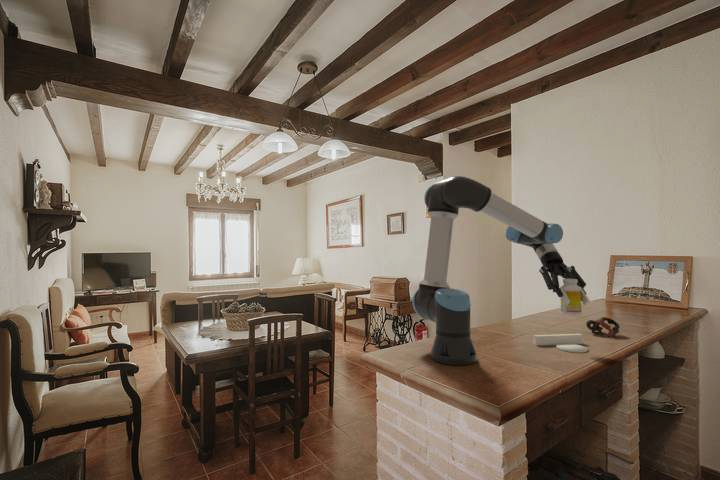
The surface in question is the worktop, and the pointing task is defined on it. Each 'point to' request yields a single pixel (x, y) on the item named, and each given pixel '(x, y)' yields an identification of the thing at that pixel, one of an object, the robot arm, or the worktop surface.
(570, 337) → the rail
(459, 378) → the worktop surface
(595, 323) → the brown openwork ring sculpture
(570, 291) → the supplement bottle
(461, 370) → the worktop surface
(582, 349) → the coaster
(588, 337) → the worktop surface
